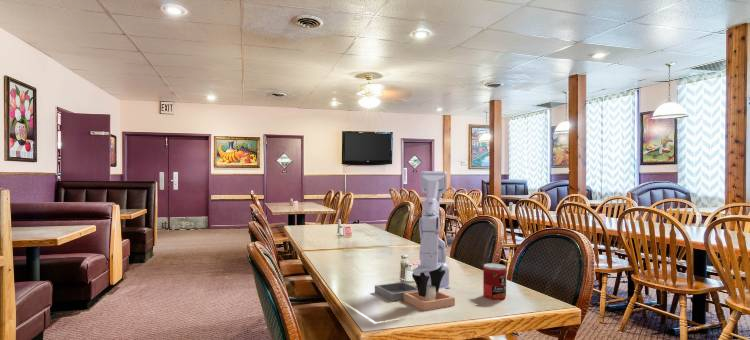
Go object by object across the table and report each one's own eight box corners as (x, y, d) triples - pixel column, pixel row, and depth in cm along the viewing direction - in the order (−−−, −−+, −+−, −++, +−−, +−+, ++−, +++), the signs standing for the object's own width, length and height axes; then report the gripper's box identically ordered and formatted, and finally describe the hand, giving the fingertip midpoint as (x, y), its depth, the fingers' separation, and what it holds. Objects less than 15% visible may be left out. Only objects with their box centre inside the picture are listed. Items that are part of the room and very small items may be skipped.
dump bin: (432, 297, 147) (432, 288, 147) (454, 307, 137) (454, 297, 137) (403, 302, 141) (403, 293, 141) (424, 312, 131) (424, 302, 131)
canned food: (494, 301, 143) (494, 269, 143) (478, 295, 150) (478, 264, 150) (511, 298, 147) (511, 266, 147) (494, 292, 154) (494, 262, 154)
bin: (403, 289, 156) (403, 281, 156) (422, 298, 146) (422, 289, 146) (374, 294, 150) (374, 285, 150) (392, 303, 140) (392, 294, 140)
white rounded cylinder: (425, 299, 143) (425, 284, 143) (438, 302, 139) (438, 286, 140) (417, 302, 139) (417, 287, 139) (430, 305, 136) (430, 289, 136)
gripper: (431, 248, 147) (430, 287, 147) (406, 253, 136) (405, 295, 136) (448, 250, 142) (448, 291, 142) (424, 256, 132) (423, 300, 131)
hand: (428, 293), depth 139 cm, fingers open, 7 cm apart
